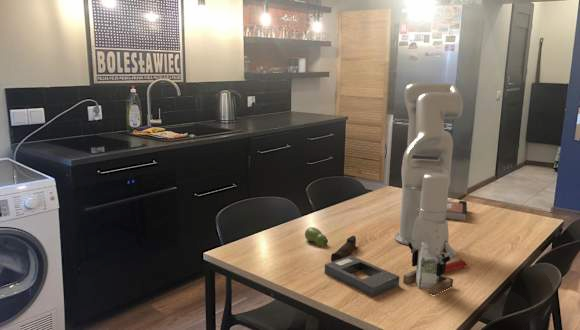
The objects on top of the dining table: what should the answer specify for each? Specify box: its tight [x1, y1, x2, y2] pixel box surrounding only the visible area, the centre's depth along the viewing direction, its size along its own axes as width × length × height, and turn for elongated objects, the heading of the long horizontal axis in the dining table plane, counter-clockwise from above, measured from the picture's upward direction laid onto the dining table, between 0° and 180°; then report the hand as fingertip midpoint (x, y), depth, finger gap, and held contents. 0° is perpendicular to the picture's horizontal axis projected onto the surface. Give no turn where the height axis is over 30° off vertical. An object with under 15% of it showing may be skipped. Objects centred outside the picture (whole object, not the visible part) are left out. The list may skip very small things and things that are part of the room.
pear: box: [304, 226, 329, 247], centre depth 176 cm, size 6×5×10 cm
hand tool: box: [330, 235, 357, 262], centre depth 166 cm, size 19×4×5 cm, turn 151°
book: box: [446, 200, 468, 223], centre depth 216 cm, size 26×18×5 cm
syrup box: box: [415, 242, 439, 290], centre depth 143 cm, size 6×6×14 cm
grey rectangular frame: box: [324, 255, 400, 298], centre depth 147 cm, size 12×20×3 cm, turn 40°
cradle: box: [402, 269, 454, 296], centre depth 144 cm, size 10×11×2 cm
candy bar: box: [444, 256, 468, 274], centre depth 155 cm, size 16×4×3 cm, turn 120°
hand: (427, 269), depth 143 cm, fingers closed on syrup box, 8 cm apart
